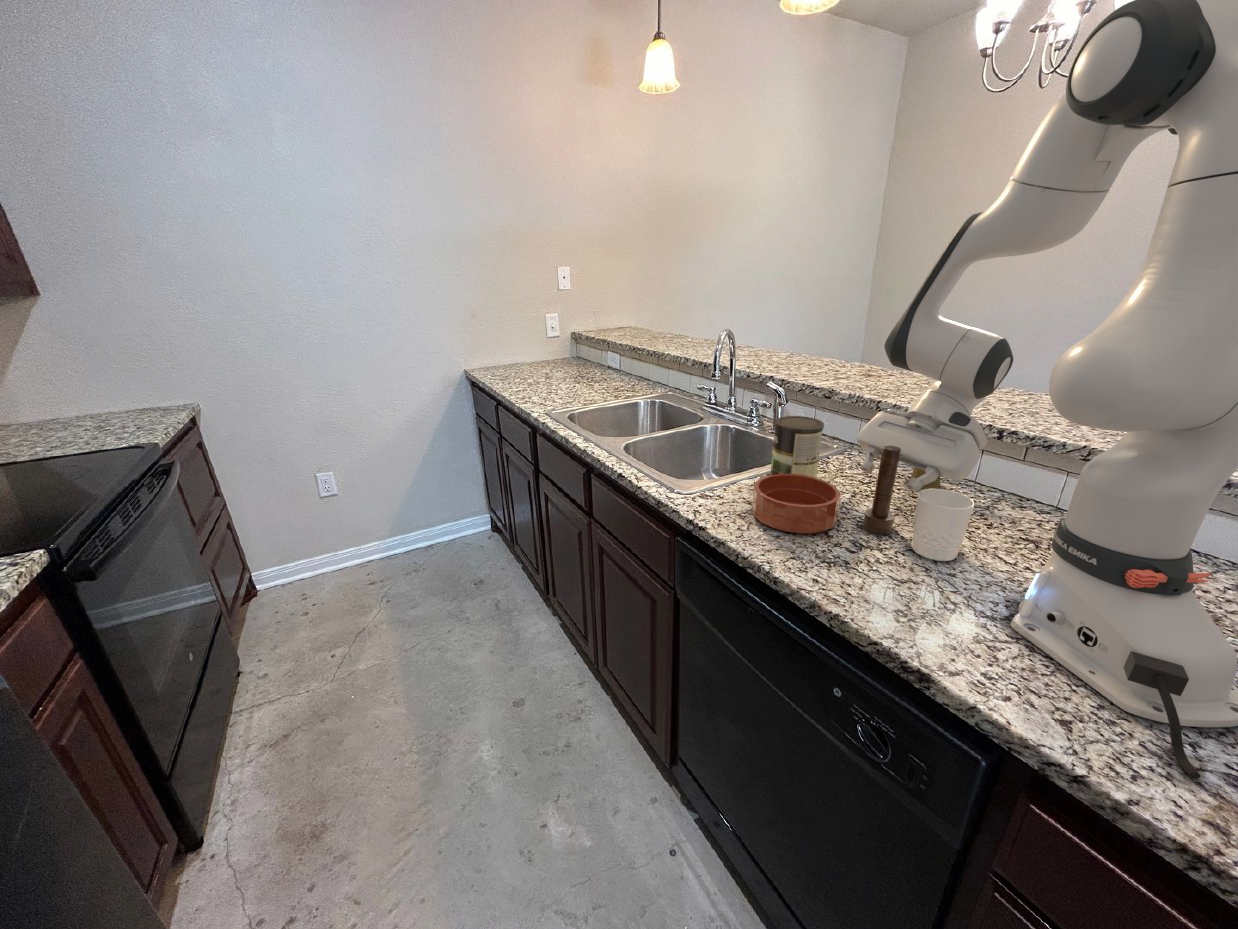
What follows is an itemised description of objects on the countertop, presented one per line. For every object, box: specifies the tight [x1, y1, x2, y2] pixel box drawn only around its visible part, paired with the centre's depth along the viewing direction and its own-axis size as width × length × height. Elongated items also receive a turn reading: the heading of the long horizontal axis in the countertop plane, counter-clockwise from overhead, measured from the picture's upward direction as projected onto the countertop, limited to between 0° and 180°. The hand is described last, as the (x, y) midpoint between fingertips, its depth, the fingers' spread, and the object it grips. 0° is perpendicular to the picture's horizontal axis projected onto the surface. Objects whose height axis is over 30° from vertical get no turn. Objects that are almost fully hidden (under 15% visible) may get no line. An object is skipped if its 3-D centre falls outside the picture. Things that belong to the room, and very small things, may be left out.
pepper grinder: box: [908, 467, 941, 491], centre depth 109 cm, size 6×6×11 cm
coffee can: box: [769, 415, 825, 478], centre depth 112 cm, size 10×10×14 cm
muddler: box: [862, 446, 901, 536], centre depth 90 cm, size 5×5×16 cm
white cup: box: [910, 488, 976, 562], centre depth 83 cm, size 8×8×10 cm
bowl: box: [752, 474, 841, 534], centre depth 97 cm, size 16×16×6 cm
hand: (887, 479), depth 90 cm, fingers open, 8 cm apart
